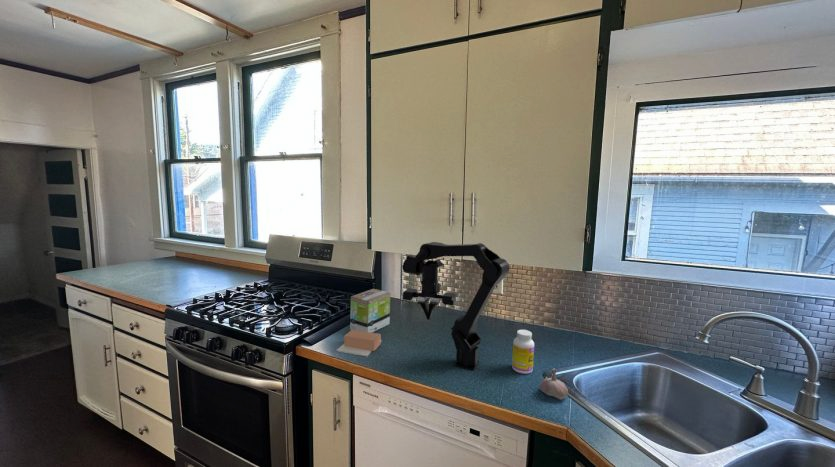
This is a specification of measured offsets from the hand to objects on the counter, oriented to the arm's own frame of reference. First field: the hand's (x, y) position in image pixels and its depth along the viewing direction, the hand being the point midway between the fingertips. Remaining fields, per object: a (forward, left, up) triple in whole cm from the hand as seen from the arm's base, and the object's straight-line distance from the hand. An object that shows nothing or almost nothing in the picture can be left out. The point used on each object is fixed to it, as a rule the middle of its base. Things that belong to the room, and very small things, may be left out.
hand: (428, 319), depth 125 cm
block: (+17, +8, -9) cm, 21 cm away
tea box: (+31, -7, -12) cm, 34 cm away
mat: (+24, +10, -12) cm, 28 cm away
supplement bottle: (-33, -4, -12) cm, 35 cm away
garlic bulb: (-44, +6, -12) cm, 46 cm away
